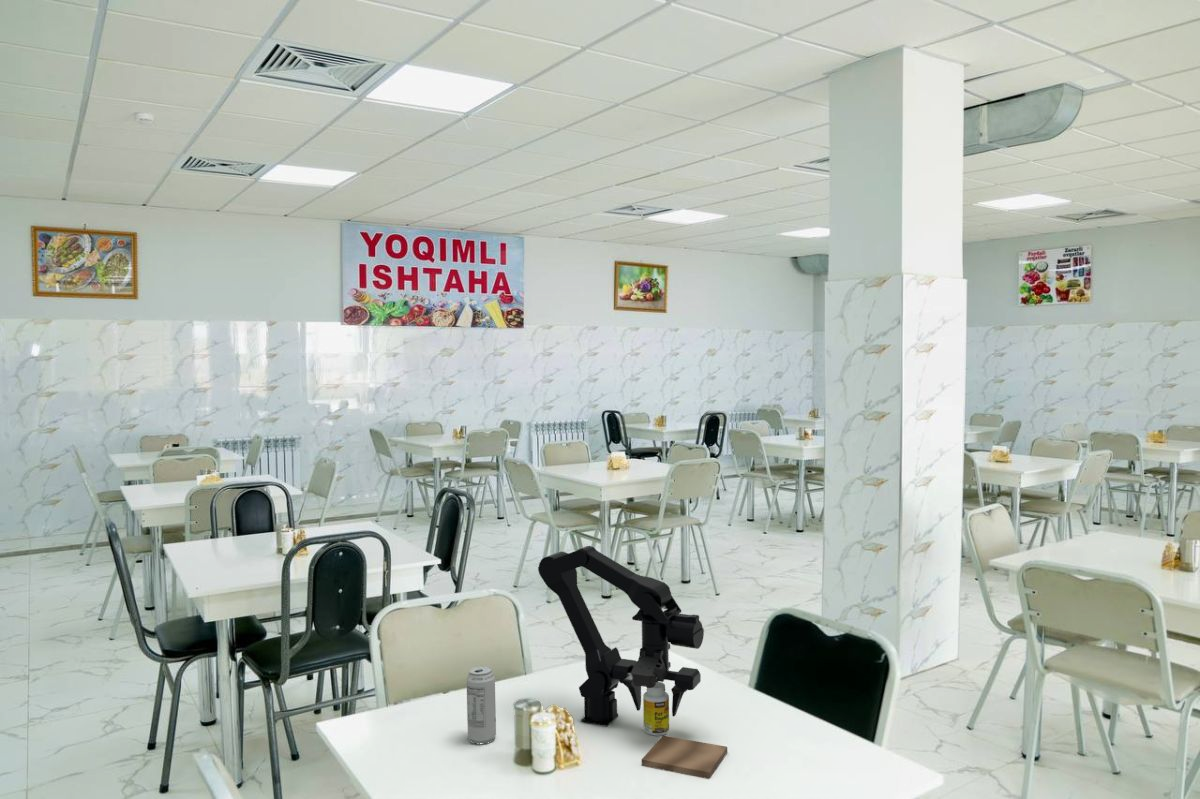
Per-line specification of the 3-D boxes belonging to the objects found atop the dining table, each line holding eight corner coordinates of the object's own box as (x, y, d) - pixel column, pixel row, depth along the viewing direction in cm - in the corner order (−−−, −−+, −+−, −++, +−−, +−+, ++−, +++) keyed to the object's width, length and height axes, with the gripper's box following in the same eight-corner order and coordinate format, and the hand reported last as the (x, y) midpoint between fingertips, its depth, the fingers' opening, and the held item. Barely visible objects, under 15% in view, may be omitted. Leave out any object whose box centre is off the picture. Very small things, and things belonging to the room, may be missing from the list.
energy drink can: (502, 738, 181) (500, 669, 181) (480, 748, 177) (478, 677, 176) (484, 730, 185) (482, 663, 185) (462, 739, 181) (460, 670, 180)
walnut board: (641, 765, 168) (641, 759, 168) (663, 741, 179) (662, 735, 179) (709, 778, 162) (709, 772, 162) (727, 752, 173) (727, 746, 173)
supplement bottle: (654, 739, 180) (653, 691, 179) (638, 730, 184) (637, 683, 184) (674, 732, 183) (673, 685, 182) (659, 723, 187) (658, 678, 187)
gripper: (600, 647, 179) (601, 720, 180) (683, 659, 172) (684, 734, 172) (621, 632, 190) (622, 701, 190) (700, 642, 182) (701, 714, 182)
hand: (656, 712), depth 183 cm, fingers open, 8 cm apart
